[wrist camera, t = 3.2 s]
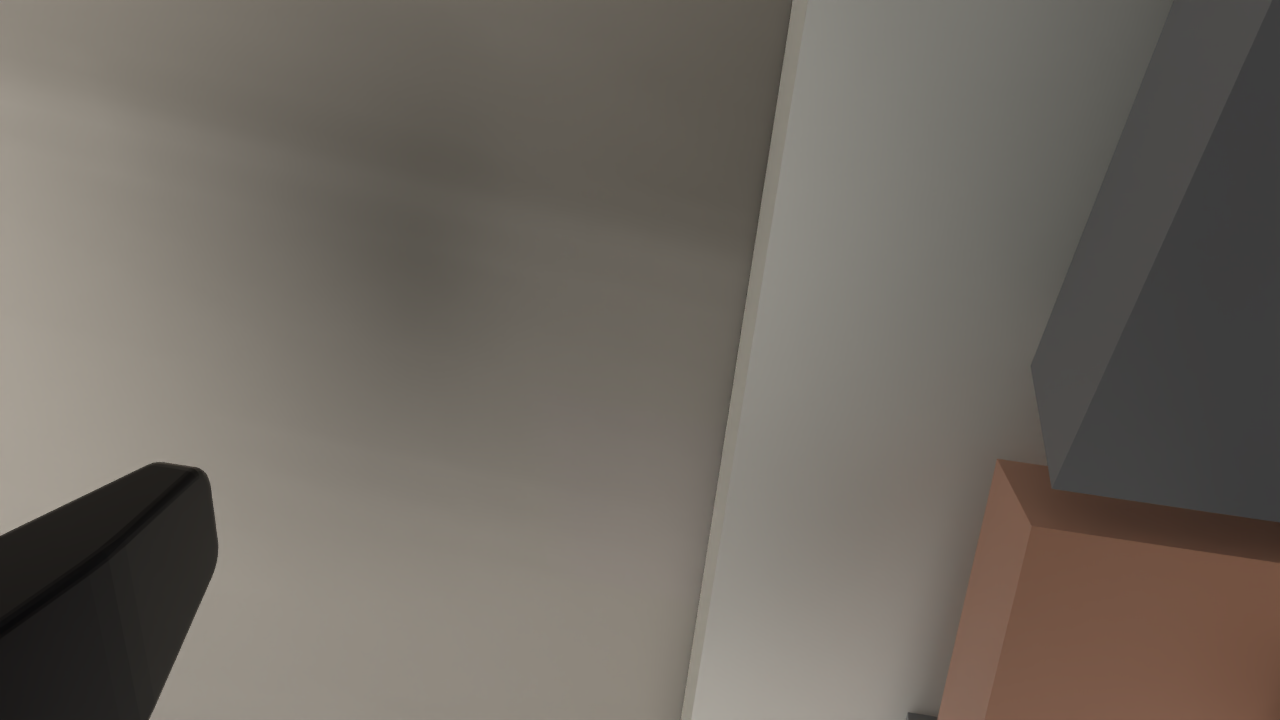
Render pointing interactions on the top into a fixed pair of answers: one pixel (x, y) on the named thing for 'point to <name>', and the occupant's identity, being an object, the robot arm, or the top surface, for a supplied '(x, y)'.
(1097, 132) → the power strip
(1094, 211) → the rocker
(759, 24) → the top surface
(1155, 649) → the rocker
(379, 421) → the top surface
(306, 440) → the top surface
